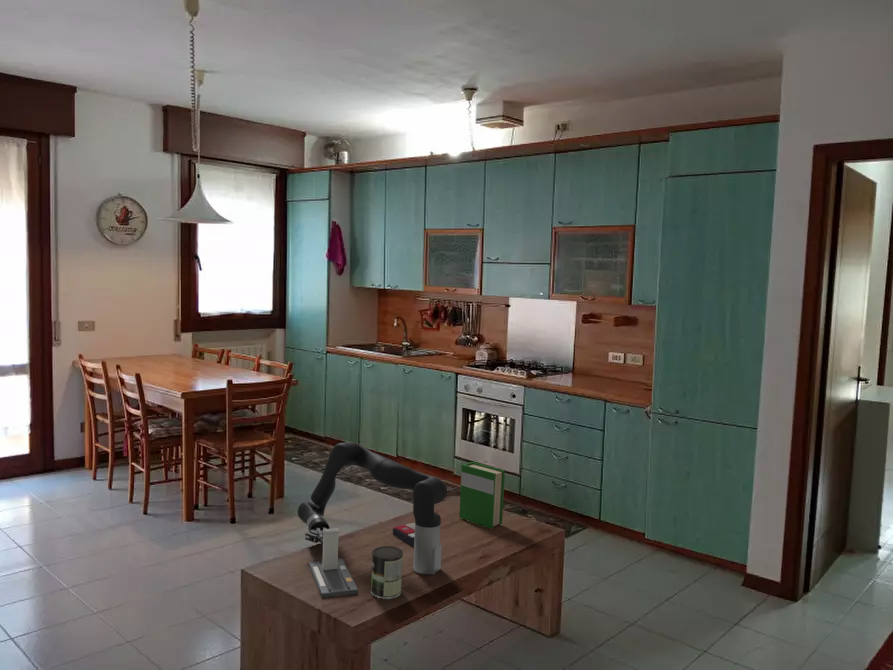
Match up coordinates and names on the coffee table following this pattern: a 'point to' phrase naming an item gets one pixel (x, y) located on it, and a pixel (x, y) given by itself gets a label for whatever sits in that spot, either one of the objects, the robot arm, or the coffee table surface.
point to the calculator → (405, 533)
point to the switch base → (333, 579)
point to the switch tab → (330, 549)
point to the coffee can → (386, 572)
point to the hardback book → (482, 494)
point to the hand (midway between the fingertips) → (326, 543)
